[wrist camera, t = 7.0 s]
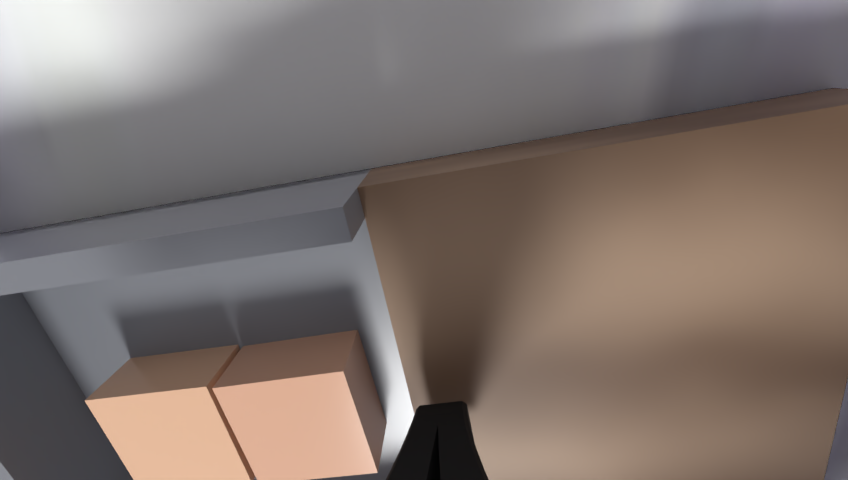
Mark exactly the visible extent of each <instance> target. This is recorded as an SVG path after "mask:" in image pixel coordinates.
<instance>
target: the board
mask: <svg viewBox="0 0 848 480" xmlns="http://www.w3.org/2000/svg"><path fill="white" fill-rule="evenodd" d="M357 189H358V193H359V197H360V201H361V205H362V209H363V213H364V216H365V220H366V224H367V228H368V232H369V236H370V240H371V244H372V248H373V252H374V256H375V260H376V264H377V268H378V272H379V276H380V280H381V284H382V288H383V292H384V296H385V300H386V304H387V308H388V312H389V316H390V320H391V324H392V328H393V332H394V335H395V339H396V343H397V347H398V351H399V355H400V359H401V363H402V367H403V371H404V375H405V379H406V383H407V387H408V391H409V395H410V399H411V403H412V407H413V411H414V415H415V412H416V409H417V408H418V407H419V406H420V405H429V404H438V403H447V402H456V401H463V402H465V403H466V404H467V407H468V412H469V417H470V422H471V427H472V432H473V437H474V442H475V446H476V449H477V451H478V454H479V457H480V459H481V462H482V464H483V467H484V470H485V472H486V474H487V477H488V479H489V480H824V477H825V473H826V468H827V464H828V460H829V455H830V451H831V447H832V443H833V438H834V434H835V430H836V426H837V421H838V417H839V413H840V408H841V404H842V400H843V396H844V391H845V387H846V383H847V379H848V89H840V88H831V89H825V90H820V91H814V92H808V93H803V94H797V95H791V96H785V97H780V98H774V99H768V100H762V101H757V102H751V103H745V104H740V105H734V106H728V107H722V108H717V109H711V110H705V111H699V112H694V113H688V114H682V115H676V116H671V117H665V118H659V119H654V120H648V121H642V122H636V123H631V124H625V125H619V126H613V127H608V128H602V129H596V130H590V131H585V132H579V133H573V134H568V135H562V136H556V137H550V138H545V139H539V140H533V141H527V142H522V143H516V144H510V145H505V146H499V147H493V148H487V149H482V150H476V151H470V152H464V153H459V154H453V155H447V156H441V157H436V158H430V159H424V160H419V161H413V162H407V163H401V164H396V165H390V166H384V167H378V168H373V169H371V170H370V171H369V173H368V174H367V175H366V177H365V178H364V179H363V181H362V182H361V183H360V184H359V186H358V187H357Z"/></svg>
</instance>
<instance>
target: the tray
mask: <svg viewBox="0 0 848 480" xmlns="http://www.w3.org/2000/svg"><path fill="white" fill-rule="evenodd" d="M370 170H371V169H367V170H361V171H356V172H350V173H344V174H338V175H333V176H327V177H321V178H315V179H310V180H304V181H298V182H292V183H287V184H281V185H275V186H270V187H264V188H258V189H252V190H247V191H241V192H235V193H229V194H224V195H218V196H212V197H207V198H201V199H195V200H189V201H184V202H178V203H172V204H166V205H161V206H155V207H149V208H143V209H138V210H132V211H126V212H121V213H115V214H109V215H103V216H98V217H92V218H86V219H80V220H75V221H69V222H63V223H57V224H52V225H46V226H40V227H35V228H29V229H23V230H17V231H12V232H6V233H0V480H133V478H132V476H131V475H130V473H129V472H128V470H127V468H126V467H125V465H124V463H123V462H122V460H121V459H120V457H119V455H118V454H117V452H116V451H115V449H114V447H113V446H112V444H111V443H110V441H109V439H108V438H107V436H106V434H105V433H104V431H103V430H102V428H101V426H100V425H99V423H98V422H97V420H96V418H95V417H94V415H93V413H92V412H91V410H90V409H89V407H88V405H87V404H86V402H85V400H86V399H87V398H88V397H89V396H90V395H91V394H92V393H93V392H94V391H95V390H97V389H98V388H99V387H100V386H101V385H102V384H103V383H104V382H105V381H106V380H107V379H109V378H110V377H111V376H112V375H113V374H114V373H115V372H116V371H117V370H118V369H119V368H121V367H122V366H123V365H124V364H125V363H126V362H127V361H128V360H129V359H130V358H136V357H144V356H151V355H159V354H167V353H175V352H183V351H191V350H199V349H207V348H215V347H222V346H230V345H238V346H239V348H240V350H241V348H242V347H243V346H247V345H254V344H261V343H268V342H275V341H282V340H289V339H296V338H303V337H310V336H317V335H324V334H331V333H338V332H345V331H352V330H358V332H359V335H360V339H361V342H362V345H363V348H364V352H365V355H366V358H367V361H368V364H369V368H370V371H371V374H372V377H373V380H374V384H375V387H376V390H377V393H378V397H379V400H380V403H381V406H382V409H383V413H384V416H385V419H386V422H387V424H386V430H385V435H384V441H383V447H382V452H381V458H380V463H379V469H378V473H372V474H361V475H351V476H341V477H330V478H320V479H310V480H386V478H387V476H388V474H389V472H390V470H391V468H392V466H393V464H394V462H395V460H396V458H397V455H398V453H399V451H400V449H401V447H402V445H403V442H404V440H405V438H406V435H407V433H408V430H409V428H410V425H411V423H412V420H413V417H414V411H413V407H412V403H411V399H410V395H409V391H408V387H407V383H406V379H405V375H404V371H403V367H402V363H401V359H400V355H399V351H398V347H397V343H396V339H395V335H394V332H393V328H392V324H391V320H390V316H389V312H388V308H387V304H386V300H385V296H384V292H383V288H382V284H381V280H380V276H379V272H378V268H377V264H376V260H375V256H374V252H373V248H372V244H371V240H370V236H369V232H368V228H367V224H366V220H365V216H364V213H363V209H362V205H361V201H360V197H359V193H358V189H357V187H358V186H359V184H360V183H361V182H362V181H363V179H364V178H365V177H366V175H367V174H368V173H369V171H370ZM254 480H257V479H256V477H255V478H254Z"/></svg>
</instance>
